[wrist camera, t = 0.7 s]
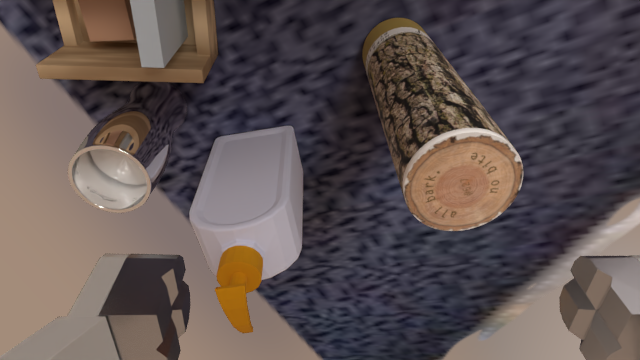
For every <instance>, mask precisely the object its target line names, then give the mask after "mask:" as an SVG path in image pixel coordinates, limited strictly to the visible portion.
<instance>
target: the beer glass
mask: <svg viewBox="0 0 640 360" xmlns="http://www.w3.org/2000/svg"><path fill="white" fill-rule="evenodd" d="M186 116H187V103H186V100H185V98H184V96H183V95H182V93H181V92H180V91H179V90H178V89H177V88H176V87H175V86H173V85H172V84H170V83H168V82H148V81H143V82H140V83H139V84H137V85H136V86H135V87H134V89H133V90H132V92H131V94H130V97H129V100H128V103H127V104H125V105H124V106H122V107H121V108H119V109H117V110H116V111H114V112H112V113H111V114H109V115H108V116H107V117H105V118H104V119H103V120H101V121H100V122H99V123H98V124H97V125H96V126H95V127H94V128H93V129H92V130H91V132H90V133H89V134H88V135H87V137H86V138H85V139H84V141H83V142H82V144H81V145H80V147H79V149H78V150H77V152H76V153H75V155H74V156H73V157H72V159H71V160H70V162H69V165H68V178H69V181H70V184H71V186H72V188H73V189H74V191H75V192H76V193H77V195H79V197H80V198H81V199H83V200H84V201H85V202H87V203H88V204H90V205H92V206H93V207H95V208H98V209H100V210H103V211H107V212H114V213H123V212H129V211H133V210H135V209H137V208H139V207H140V206H142V205H143V204H144V203H145V202H146V201H147V199H148V198H149V195H150V194H151V192H152V191H153V189H154V188H155V186H156V185H157V183H158V182H159V180H160V178H161V177H162V175H163V173H164V171H165V169H166V166H167V164H168V161H169V157H170V153H171V148H172V141H173V134H174V131H175V130H177V129H178V128H179V127H180V126H181V125H182V124H183V122H184V121H185V119H186Z"/></svg>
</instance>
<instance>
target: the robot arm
mask: <svg viewBox="0 0 640 360" xmlns="http://www.w3.org/2000/svg"><path fill="white" fill-rule="evenodd" d="M571 272H572V274H573V276H574V279H572V280H571V281H570V282H568V283H567V284H566V285H564V287H563V290H562V292H561V295H560V312H561V315H562V319H563V321H564V323H565V324H566V326H567V328H568V330H569V331H570V332H572V333H573V334H574V335H576V336H577V337H579V338H580V339H581V344H580V351H581V352H582V354H583V355H584V357H585V359H586V360H640V255H633V256H580V257H579V258H578V259H577V260H575V261H574V264H573V266H572V268H571ZM184 273H185V265H184V260H183V257H182V256H180V255H157V254H156V255H155V254H105V255H103V256H102V257H101V258H100V259H99V260H98V262H97V263H96V265H95V267H94V269H93V271H92V272H91V274H90V276H89V278H88V280H87V281H86V283H85V285H84V287H83V288H82V290H81V292H80V294H79V296H78V297H77V299H76V301H75V303H74V305H73V306H72V308H71V310H70V312H69V314H68V315H67V317H57V318H56V319H55V320H53V321H52V322H50V323H49V324H47V325H46V326H44V327H43V328H41V329H40V330H39V331H37V332H36V333H34V334H33V335H31V336H30V337H28V338H27V339H25V340H24V341H22V342H21V343H20V344H18V345H17V346H15V347H14V348H12V349H11V350H9V351H8V352H6V353H5V354H3V355H2V356H0V360H178V357H179V354H180V345H179V340H178V338H179V337H180V336H181V335H182V334H183V333H185V332H186V328H187V324H188V320H189V312H190V292H189V286H188V285H187V284H186V283H185V282H184V281H183V276H184Z"/></svg>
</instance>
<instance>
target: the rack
mask: <svg viewBox="0 0 640 360" xmlns="http://www.w3.org/2000/svg"><path fill="white" fill-rule="evenodd" d="M53 4H54V8H55V12H56V16H57V19H58V23H59V27H60V31H61V35H62V38H63V42H64V46H63V47H61V48H60V49H58V50H57V51H56V52H54V53H53V54H51V55H50V56H48V57H47V58H45V59H44V60H42V61H41V62H39V63H38V64H37V65H36V67H37V70H38V74H39V77H40V78H41V79H42V78H43V79H76V80H112V81H148V82H184V83H204V81H205V79H206V77H207V75H208V73H209V71H210V69H211V67H212V65H213V63H214V61H215V59H216V57H217V56H218V45H217V33H216V21H215V9H214V0H184V5H185V14H186V23H187V31H188V37H187V38H186V40H185V41H184V42H183V44H182V45H181V46H180V48H179V49H178V50H177V52H176V53H175V54H174V55H173V57H172V58H171V59H170V61H169V62H168V63H167V65H166V66H165V67H164V68H153V67H142V66H141V61H140V55H139V49H138V44H137V38H136V39H135V40H119V41H93V42H90V39H89V36H88V32H87V29H86V26H85V22H84V19H83V16H82V12H81V9H80V6H79V3H78V0H53Z"/></svg>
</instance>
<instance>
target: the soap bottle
mask: <svg viewBox="0 0 640 360" xmlns="http://www.w3.org/2000/svg"><path fill="white" fill-rule="evenodd" d="M302 215H303V169H302V164H301V160H300V155H299V151H298V146H297V142H296V138H295V133H294V129H293V127H292V126H282V127H276V128H269V129H263V130H257V131H251V132H245V133H239V134H233V135H226V136H221V137H218V138H217V139H215V141H214V144H213V147H212V150H211V152H210V155H209V158H208V161H207V164H206V167H205V169H204V172H203V175H202V178H201V181H200V183H199V186H198V189H197V192H196V195H195V197H194V200H193V203H192V206H191V209H190V211H189V217H190V223H191V225H192V227H193V230H194V232H195V235H196V237H197V240H198V242H199V245H200V247H201V249H202V252H203V254H204V257H205V259H206V262H207V264H208V267H209V269H210V271H211V272H212V273H214V275H215V276H216V277H217V281H218V283H219V284H220V285H221V287H217V288H216V289H215V291H216V294H217V297H218V300H219V302H220V304H221V307H222V309H223V311H224V312H225V314H226V316H227V318H228V319H229V321H230V322H231V324H232V325H233V327H234V328H236V329H237V330H238V331H240V332H242V333H249V332H253V327H252V325H251V322H250V316H249V312H248V306H247V298H246V293H248V292H251V291H253V290H255V289H256V288H258V286H259V285H260V283H261V280H264V279H268V278H271V277H273V276H275V275H277V274H279V273H280V272H282V271H284V270H286V269H287V268H288V267H289V266H291V265H292V264H293V263H294V262H295V261H296V260H297V259H298V257H299V254H300V251H301V249H302Z"/></svg>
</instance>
